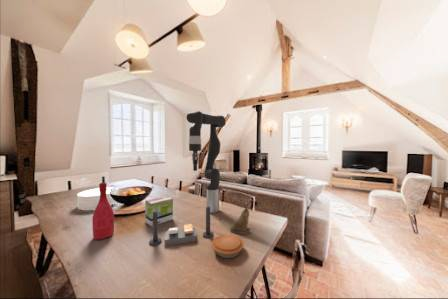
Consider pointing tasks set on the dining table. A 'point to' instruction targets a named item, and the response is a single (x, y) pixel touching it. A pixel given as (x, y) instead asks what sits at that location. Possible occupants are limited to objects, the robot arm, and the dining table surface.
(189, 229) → the orange slab
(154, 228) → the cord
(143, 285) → the dining table surface
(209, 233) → the dark grey peg stand
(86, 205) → the plate stack
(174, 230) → the white slab
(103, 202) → the wine bottle
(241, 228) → the worn brown figurine
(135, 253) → the dining table surface
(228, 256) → the pie
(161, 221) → the tea box
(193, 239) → the large grey rectangular block
